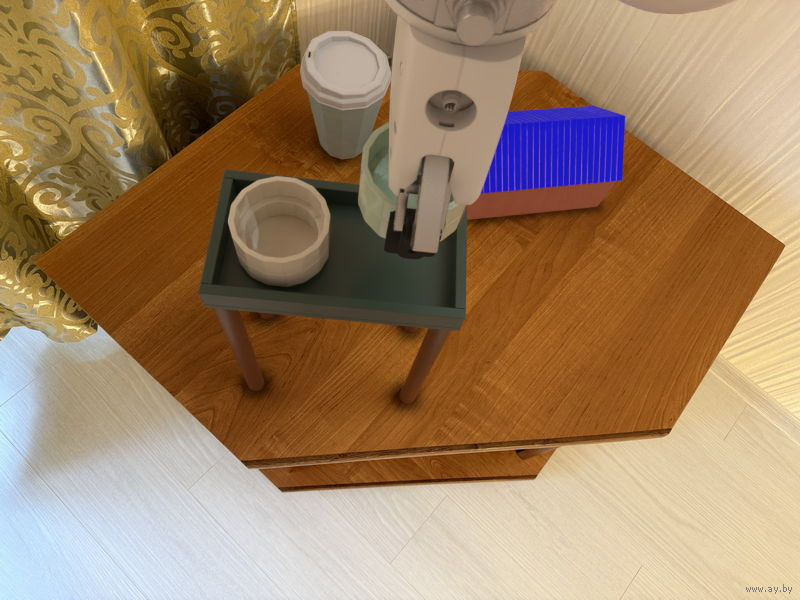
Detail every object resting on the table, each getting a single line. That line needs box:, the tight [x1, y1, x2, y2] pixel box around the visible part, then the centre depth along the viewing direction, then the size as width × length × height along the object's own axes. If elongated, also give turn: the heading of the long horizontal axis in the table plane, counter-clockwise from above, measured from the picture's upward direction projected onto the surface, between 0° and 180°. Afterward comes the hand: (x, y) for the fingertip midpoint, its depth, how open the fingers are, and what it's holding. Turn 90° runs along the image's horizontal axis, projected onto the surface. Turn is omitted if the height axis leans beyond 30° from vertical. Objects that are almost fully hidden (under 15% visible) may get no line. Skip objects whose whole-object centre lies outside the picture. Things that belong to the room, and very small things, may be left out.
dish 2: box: [358, 121, 467, 241], centre depth 38 cm, size 7×7×4 cm
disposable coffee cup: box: [299, 30, 392, 160], centre depth 74 cm, size 11×11×15 cm
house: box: [467, 105, 626, 221], centre depth 76 cm, size 12×20×12 cm, turn 100°
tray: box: [197, 168, 468, 405], centre depth 57 cm, size 11×19×27 cm, turn 87°
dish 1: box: [228, 175, 330, 287], centre depth 44 cm, size 7×7×4 cm
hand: (412, 197), depth 39 cm, fingers closed on dish 2, 7 cm apart
